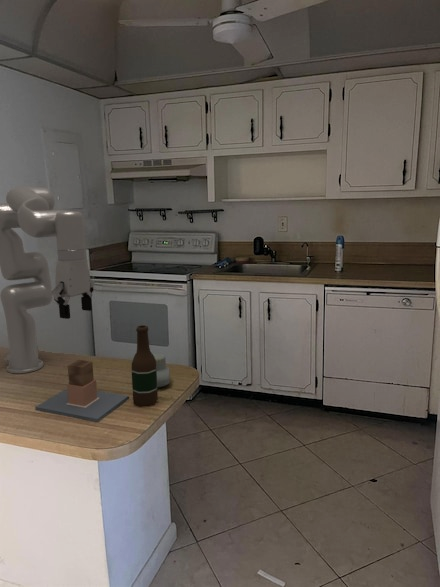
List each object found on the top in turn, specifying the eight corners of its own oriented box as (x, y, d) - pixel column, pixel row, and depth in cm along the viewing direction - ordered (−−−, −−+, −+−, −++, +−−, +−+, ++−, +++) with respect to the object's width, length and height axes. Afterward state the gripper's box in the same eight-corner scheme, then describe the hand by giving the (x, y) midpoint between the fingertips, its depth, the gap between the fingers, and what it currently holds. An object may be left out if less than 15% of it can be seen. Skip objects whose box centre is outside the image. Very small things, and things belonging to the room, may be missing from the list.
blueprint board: (35, 409, 131) (35, 406, 131) (71, 388, 145) (71, 385, 145) (97, 422, 123) (97, 418, 123) (128, 398, 138) (128, 395, 138)
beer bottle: (137, 409, 131) (133, 331, 126) (129, 399, 137) (125, 325, 132) (162, 403, 134) (159, 327, 129) (153, 394, 141) (150, 321, 136)
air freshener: (169, 390, 144) (168, 361, 142) (143, 391, 143) (142, 362, 141) (170, 377, 154) (169, 350, 152) (146, 378, 154) (144, 351, 152)
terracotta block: (68, 403, 132) (66, 384, 131) (81, 395, 138) (79, 377, 137) (84, 406, 130) (83, 387, 129) (97, 398, 136) (96, 379, 135)
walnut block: (69, 384, 131) (67, 365, 130) (80, 378, 136) (78, 359, 135) (83, 386, 130) (81, 367, 128) (93, 380, 134) (92, 361, 133)
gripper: (80, 251, 134) (84, 306, 138) (39, 258, 118) (44, 320, 122) (101, 252, 132) (104, 308, 135) (61, 259, 116) (67, 322, 119)
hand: (76, 314), depth 129 cm, fingers open, 9 cm apart
